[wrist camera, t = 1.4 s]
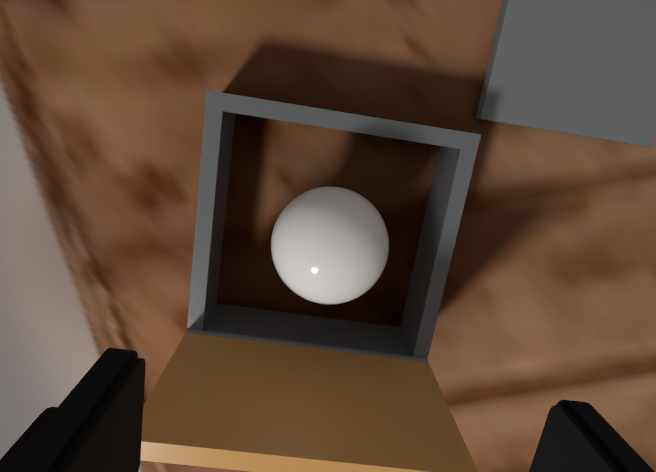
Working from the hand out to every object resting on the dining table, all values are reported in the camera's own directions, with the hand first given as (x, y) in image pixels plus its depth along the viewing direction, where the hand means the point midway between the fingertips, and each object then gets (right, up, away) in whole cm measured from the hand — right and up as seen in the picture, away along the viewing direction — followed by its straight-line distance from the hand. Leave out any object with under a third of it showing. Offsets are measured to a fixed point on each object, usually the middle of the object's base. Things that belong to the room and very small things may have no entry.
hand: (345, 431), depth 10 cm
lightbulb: (-1, +6, +22) cm, 23 cm away
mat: (+16, +17, +19) cm, 31 cm away
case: (-1, +5, +22) cm, 23 cm away
